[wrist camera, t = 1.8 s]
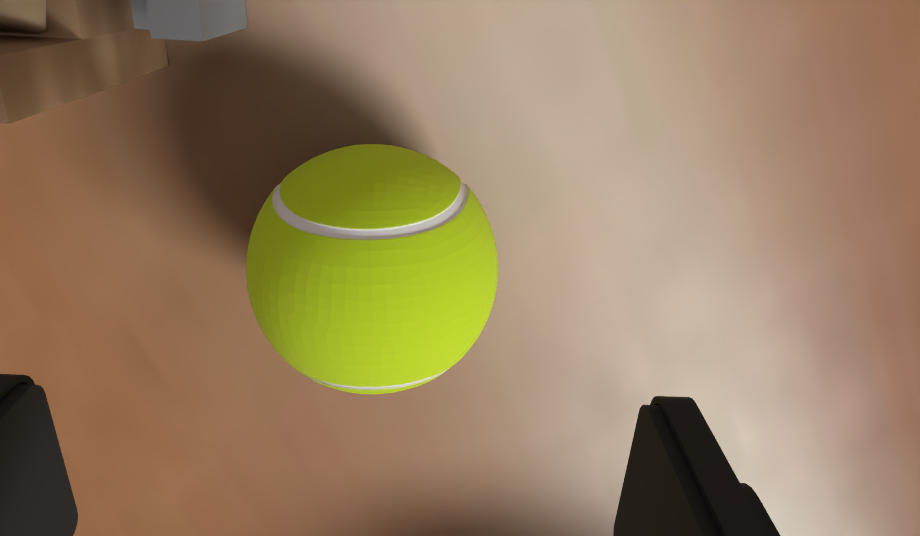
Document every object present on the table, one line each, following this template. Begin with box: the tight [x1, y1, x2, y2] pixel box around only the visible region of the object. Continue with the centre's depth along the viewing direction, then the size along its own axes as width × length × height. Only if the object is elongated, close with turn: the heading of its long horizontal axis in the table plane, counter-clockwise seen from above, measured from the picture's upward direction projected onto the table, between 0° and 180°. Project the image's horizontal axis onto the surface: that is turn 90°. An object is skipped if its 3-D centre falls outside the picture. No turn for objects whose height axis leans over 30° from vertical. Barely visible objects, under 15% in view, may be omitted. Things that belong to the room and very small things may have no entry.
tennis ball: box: [246, 144, 498, 394], centre depth 19 cm, size 7×7×7 cm
